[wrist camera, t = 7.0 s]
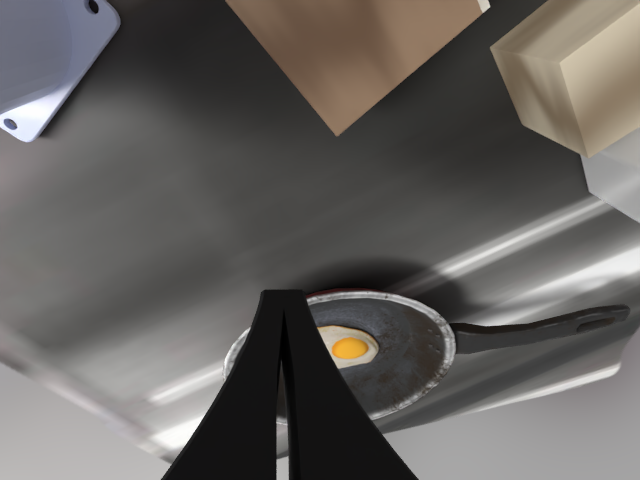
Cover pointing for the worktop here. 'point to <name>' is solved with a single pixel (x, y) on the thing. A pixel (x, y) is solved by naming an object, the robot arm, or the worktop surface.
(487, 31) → the worktop surface
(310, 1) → the walnut block
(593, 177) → the jar
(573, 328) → the frying pan
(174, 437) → the worktop surface
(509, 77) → the maple block
